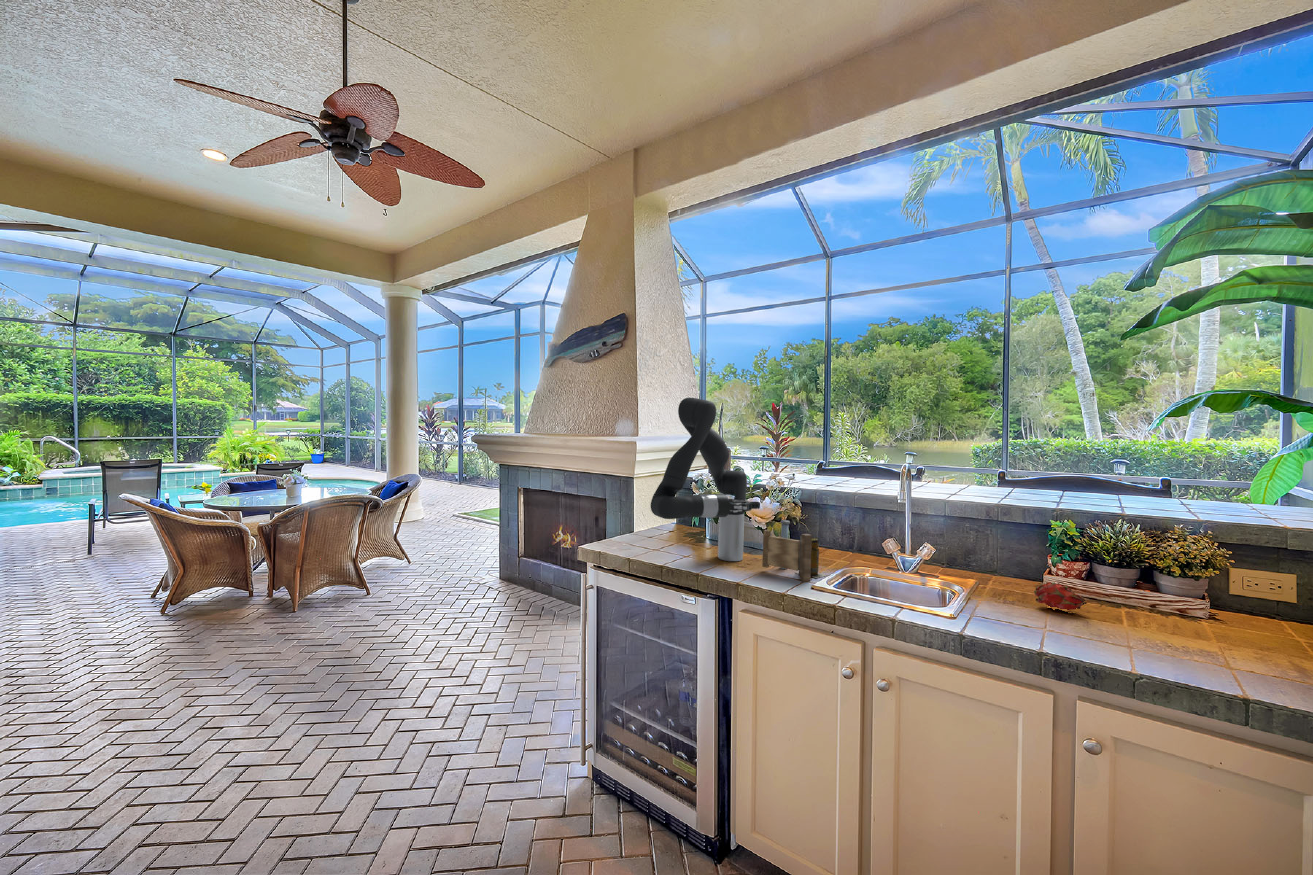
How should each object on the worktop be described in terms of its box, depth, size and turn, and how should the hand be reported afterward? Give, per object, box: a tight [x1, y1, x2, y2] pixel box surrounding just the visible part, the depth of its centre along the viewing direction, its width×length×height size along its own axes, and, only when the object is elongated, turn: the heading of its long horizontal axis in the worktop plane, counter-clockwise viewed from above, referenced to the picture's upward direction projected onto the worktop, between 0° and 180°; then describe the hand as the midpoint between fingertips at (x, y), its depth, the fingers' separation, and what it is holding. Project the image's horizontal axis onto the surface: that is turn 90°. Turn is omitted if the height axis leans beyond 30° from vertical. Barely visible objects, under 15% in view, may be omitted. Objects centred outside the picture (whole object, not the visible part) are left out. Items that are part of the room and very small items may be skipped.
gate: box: [761, 529, 801, 577], centre depth 177 cm, size 14×2×13 cm, turn 50°
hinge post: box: [799, 533, 813, 583], centre depth 171 cm, size 2×2×15 cm
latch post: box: [779, 519, 791, 570], centre depth 186 cm, size 3×3×17 cm
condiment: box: [794, 537, 828, 579], centre depth 179 cm, size 7×8×12 cm
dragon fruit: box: [1033, 581, 1088, 611], centre depth 148 cm, size 8×8×12 cm
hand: (758, 505), depth 174 cm, fingers closed
